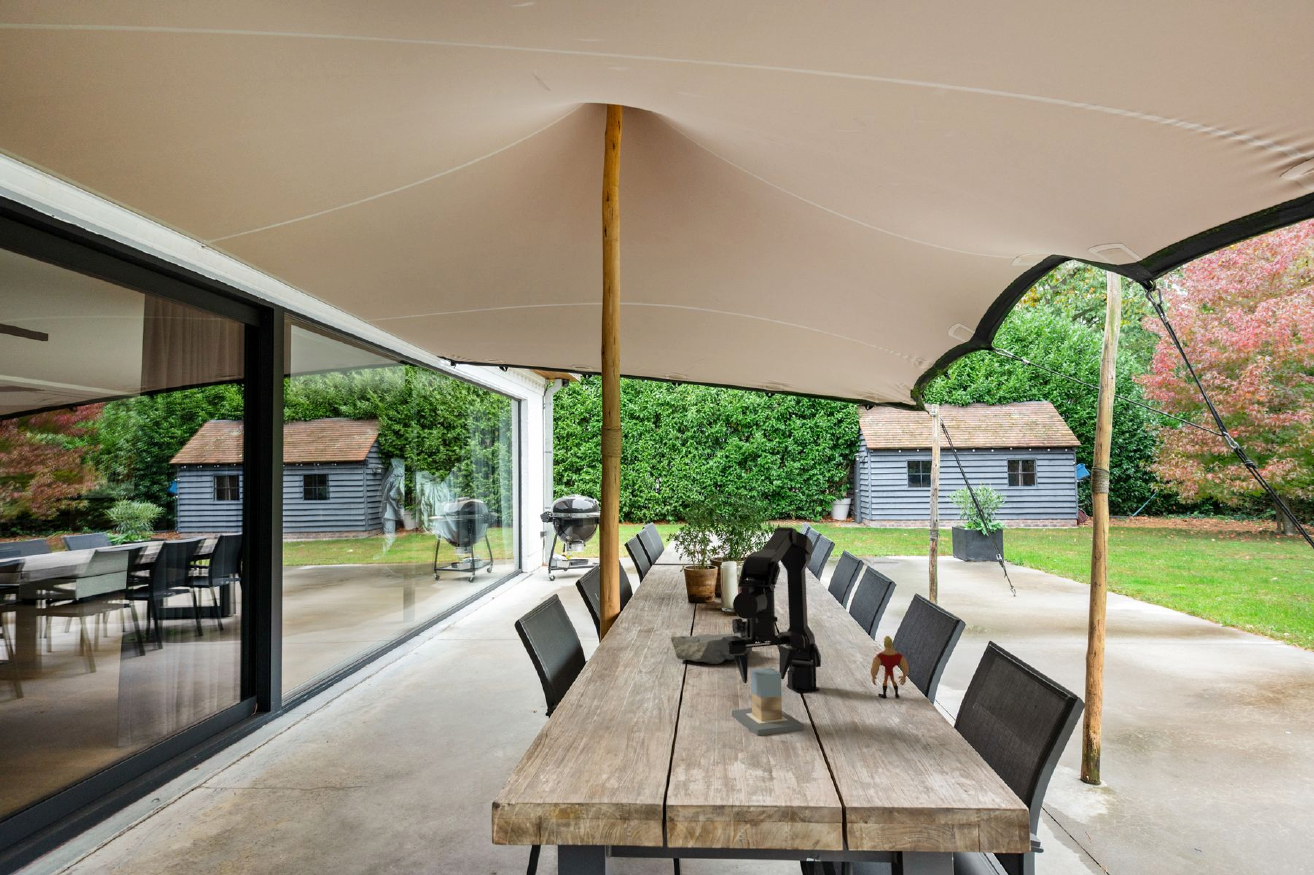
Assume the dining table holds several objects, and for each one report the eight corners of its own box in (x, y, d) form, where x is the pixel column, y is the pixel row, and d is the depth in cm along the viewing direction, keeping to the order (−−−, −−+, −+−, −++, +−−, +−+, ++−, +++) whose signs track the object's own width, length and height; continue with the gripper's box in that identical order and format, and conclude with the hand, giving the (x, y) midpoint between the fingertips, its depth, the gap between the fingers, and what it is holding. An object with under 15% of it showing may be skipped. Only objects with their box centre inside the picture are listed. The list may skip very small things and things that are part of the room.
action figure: (906, 694, 185) (904, 634, 186) (911, 698, 181) (909, 637, 182) (868, 695, 185) (866, 634, 186) (873, 699, 181) (871, 637, 182)
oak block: (772, 712, 168) (771, 690, 168) (782, 719, 163) (781, 696, 164) (752, 714, 167) (751, 692, 167) (761, 721, 162) (761, 698, 162)
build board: (774, 710, 173) (774, 705, 173) (803, 729, 160) (803, 723, 160) (731, 715, 170) (731, 710, 170) (757, 735, 157) (757, 729, 157)
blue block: (771, 690, 168) (771, 667, 169) (781, 696, 164) (781, 673, 164) (751, 692, 167) (751, 669, 167) (761, 698, 162) (760, 675, 162)
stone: (658, 634, 223) (699, 620, 244) (658, 662, 223) (699, 645, 244) (727, 643, 210) (764, 627, 231) (727, 672, 210) (764, 654, 231)
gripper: (782, 603, 178) (783, 668, 177) (710, 608, 172) (711, 676, 171) (805, 610, 167) (806, 680, 166) (729, 616, 162) (731, 688, 161)
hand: (763, 680), depth 167 cm, fingers open, 9 cm apart
